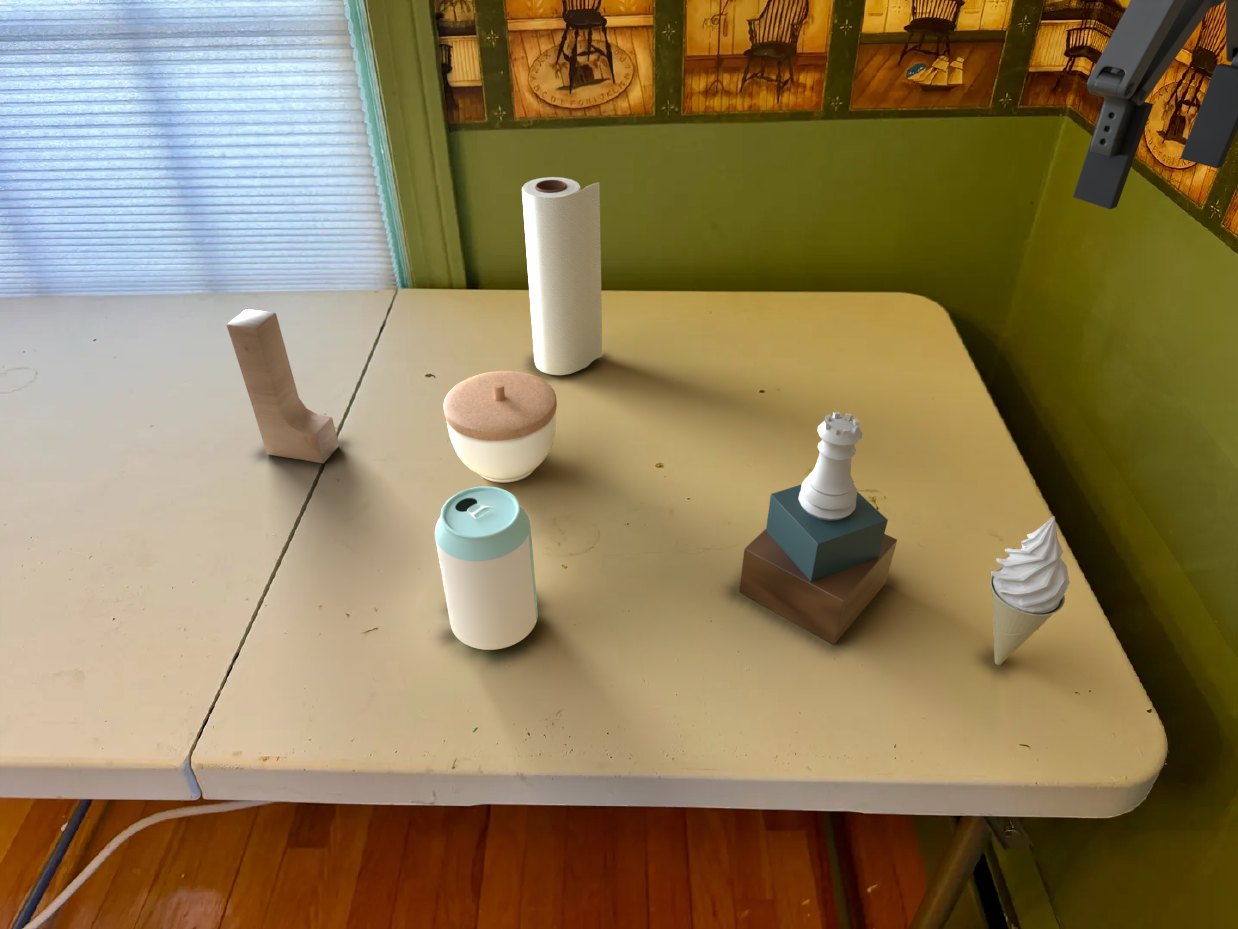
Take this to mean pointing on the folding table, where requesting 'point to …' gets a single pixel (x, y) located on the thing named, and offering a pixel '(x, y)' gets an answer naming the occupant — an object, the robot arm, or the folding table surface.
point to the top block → (824, 535)
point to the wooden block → (278, 391)
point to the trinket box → (501, 423)
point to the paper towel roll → (563, 273)
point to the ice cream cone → (1027, 589)
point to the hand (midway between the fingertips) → (1150, 181)
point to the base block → (812, 587)
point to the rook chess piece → (832, 470)
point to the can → (487, 567)
